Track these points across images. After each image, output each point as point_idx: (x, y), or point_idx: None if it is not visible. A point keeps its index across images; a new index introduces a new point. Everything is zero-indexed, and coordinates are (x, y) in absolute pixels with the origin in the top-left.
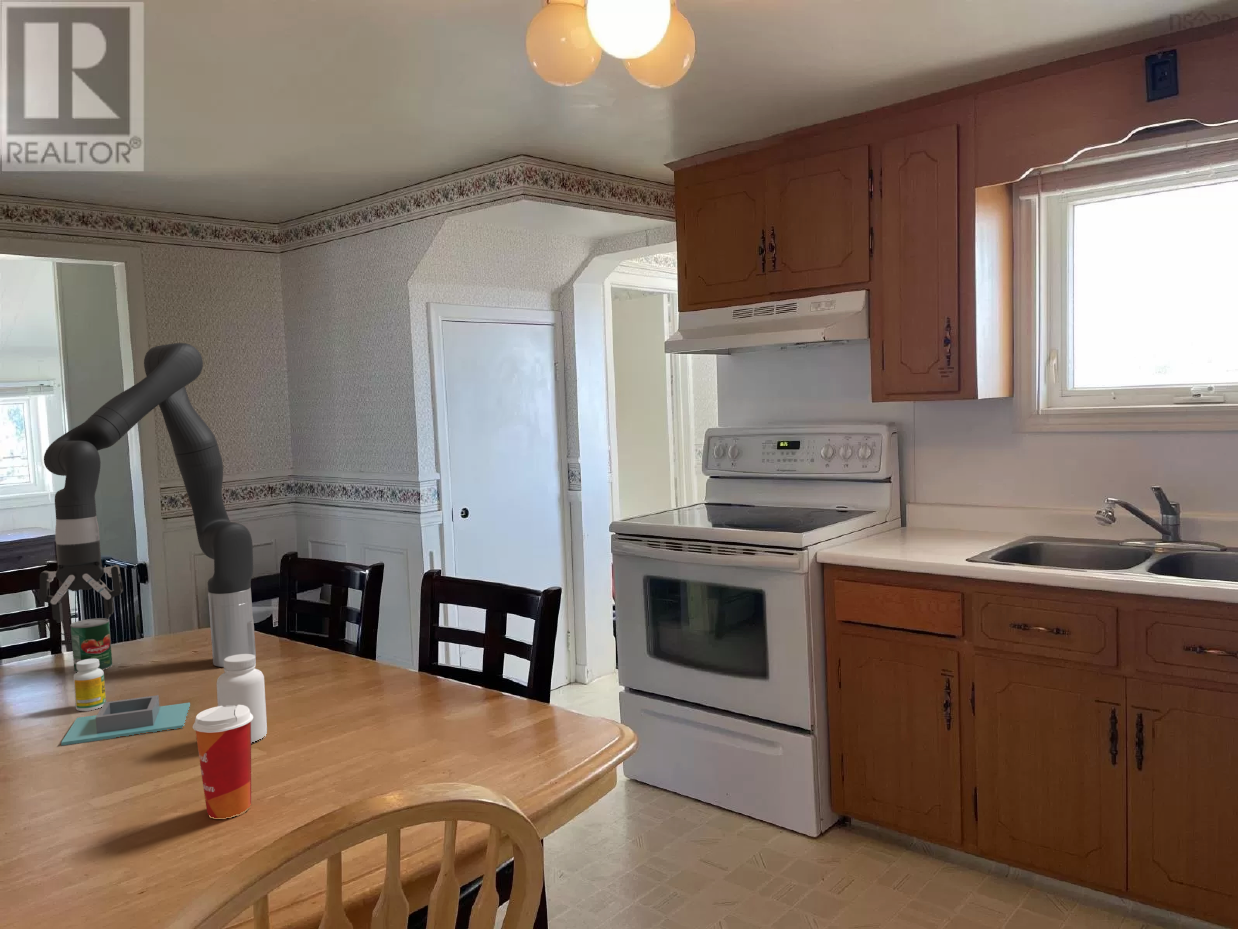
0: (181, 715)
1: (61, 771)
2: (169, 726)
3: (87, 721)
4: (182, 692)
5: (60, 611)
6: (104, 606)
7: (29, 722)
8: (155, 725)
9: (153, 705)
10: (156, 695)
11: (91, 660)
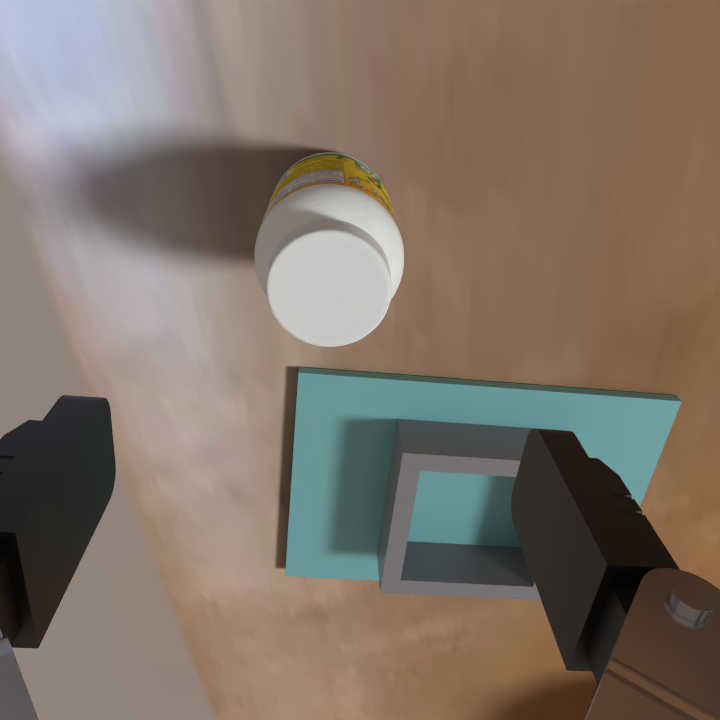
0: None
1: (314, 707)
2: None
3: (339, 433)
4: (700, 198)
5: (73, 543)
6: (545, 601)
7: (116, 289)
8: None
9: None
10: None
11: (349, 280)
